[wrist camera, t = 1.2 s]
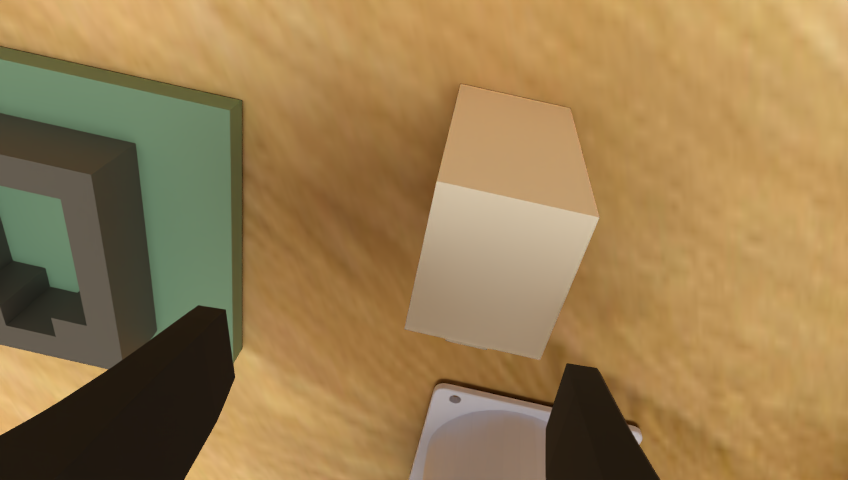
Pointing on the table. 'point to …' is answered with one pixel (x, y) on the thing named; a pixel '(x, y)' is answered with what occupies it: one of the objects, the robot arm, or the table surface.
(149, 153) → the header board
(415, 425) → the table surface
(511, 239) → the keyed plug
